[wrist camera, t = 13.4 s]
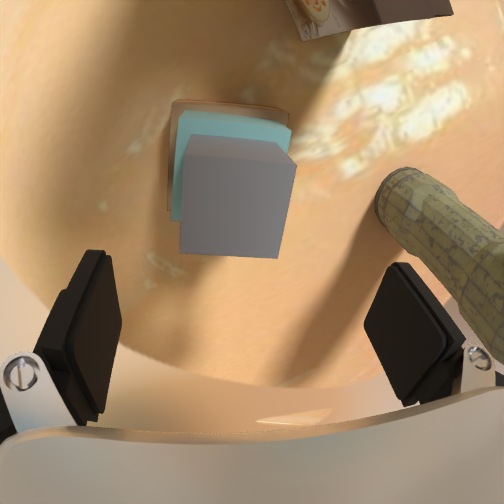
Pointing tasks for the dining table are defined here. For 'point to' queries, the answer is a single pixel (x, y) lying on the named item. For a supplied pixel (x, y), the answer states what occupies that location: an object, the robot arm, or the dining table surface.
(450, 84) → the dining table surface
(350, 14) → the coffee box
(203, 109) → the tower bottom
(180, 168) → the tower top
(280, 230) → the slate cube
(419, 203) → the thermos
